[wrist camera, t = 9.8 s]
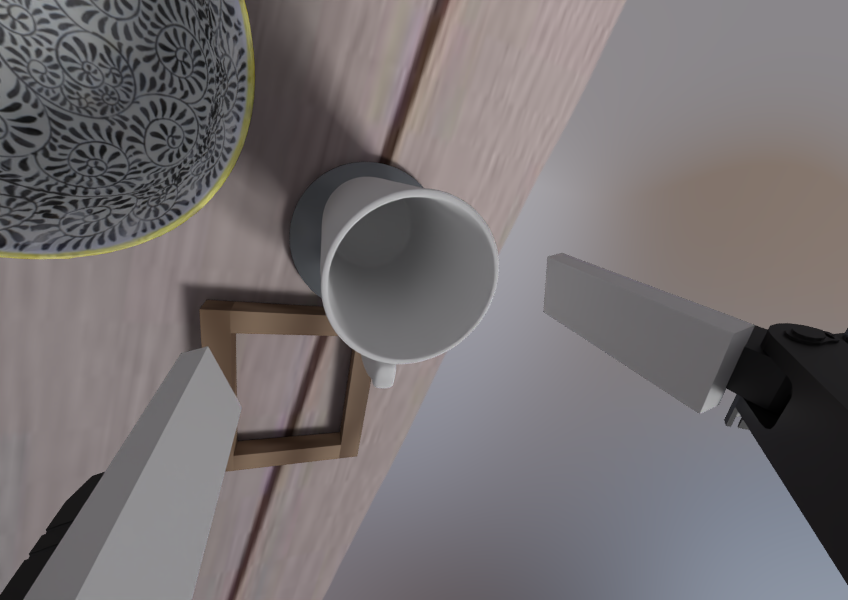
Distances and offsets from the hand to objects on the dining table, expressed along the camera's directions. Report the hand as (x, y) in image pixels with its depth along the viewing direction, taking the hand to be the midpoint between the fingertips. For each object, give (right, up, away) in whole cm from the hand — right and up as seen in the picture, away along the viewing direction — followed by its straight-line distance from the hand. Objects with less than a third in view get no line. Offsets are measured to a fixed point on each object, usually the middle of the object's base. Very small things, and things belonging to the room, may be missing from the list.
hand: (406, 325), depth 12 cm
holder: (-10, -6, +14) cm, 18 cm away
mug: (-4, +5, +10) cm, 12 cm away
